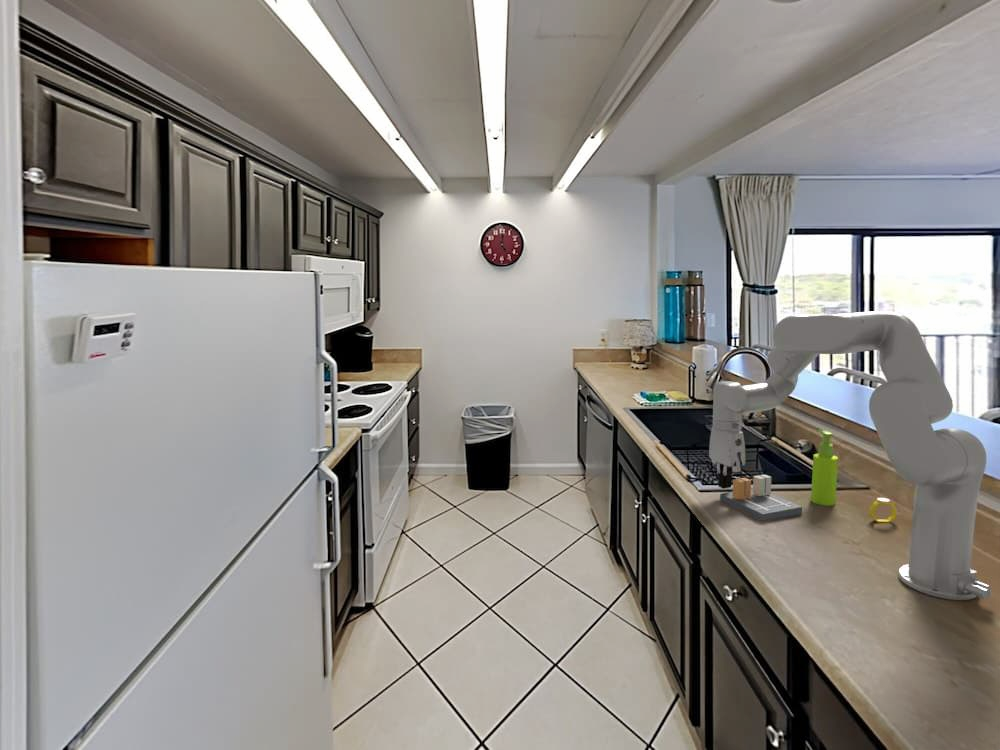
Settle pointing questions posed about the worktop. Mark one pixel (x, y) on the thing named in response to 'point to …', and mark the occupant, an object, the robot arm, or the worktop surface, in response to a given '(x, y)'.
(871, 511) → the watch
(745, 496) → the fader orange
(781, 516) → the mixer panel
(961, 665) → the worktop surface
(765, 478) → the fader ivory
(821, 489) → the soap dispenser
